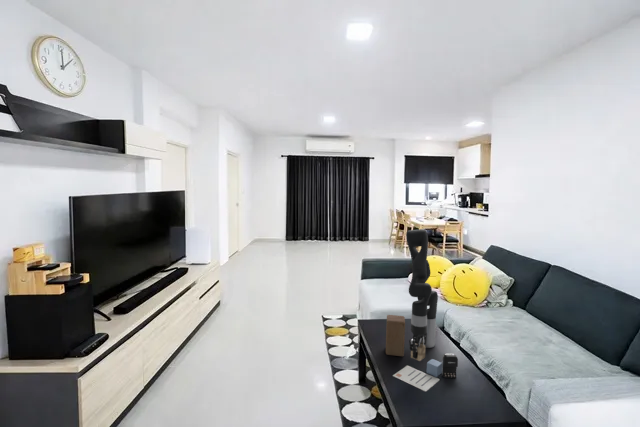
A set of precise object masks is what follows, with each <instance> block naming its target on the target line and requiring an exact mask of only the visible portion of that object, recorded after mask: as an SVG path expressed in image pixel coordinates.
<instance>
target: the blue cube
mask: <svg viewBox="0 0 640 427" xmlns="http://www.w3.org/2000/svg"><path fill="white" fill-rule="evenodd" d="M426 374H428V375H431V376H433V377H435V378H438V377H440V376H441V375H442V361H438V360H436V359H433V358H431V359H430V360H428V361H427V362H426Z"/></svg>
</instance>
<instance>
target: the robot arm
mask: <svg viewBox="0 0 640 427" xmlns="http://www.w3.org/2000/svg"><path fill="white" fill-rule="evenodd" d="M405 238H406V239H405V240H406V243H407V247H408V251H409V254H410V258H411V264H412V265H411V272H412V273H411V274H412V275H411V280H410V284H409V285H408V293H409V295H410V296H411V297H413V298H417V300H415V301H412V305H411V317H410V331H411V333H412V339H409V340H408V343H409V350H410V352H411V351H413V358H415V359H414V360H416V359H417V357H418V347H420V344H422V345H425V349H431V348H434V347H435V344H436V327H437V326H436V322H437V311H438V301H439V300H438V299H439V294H438V292H437V291H436V290H433V289H432V286H431V284H430V283H429V282H428V283H427V281H428V280H429V279H430V276H431V273H432V272H431V268H430V262H429V261H428V259H427V257H428V250H429V249H428V248H429V247H428V246H429V235H428V232H427V230H426V229H424V228H421V229H412V230H411V229H410V230H407V231H406V234H405ZM418 247H421V248H420V250H419V251H418V249H417V248H418ZM428 307H429V308H428ZM415 343H416V344H418V345H416V344H415ZM413 358H412V359H413Z"/></svg>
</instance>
